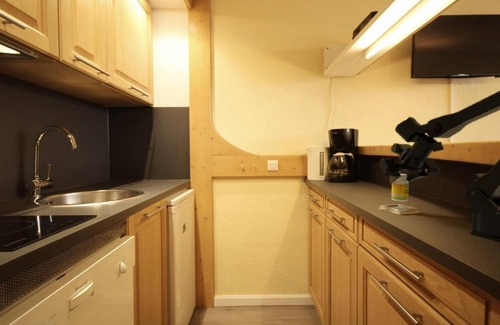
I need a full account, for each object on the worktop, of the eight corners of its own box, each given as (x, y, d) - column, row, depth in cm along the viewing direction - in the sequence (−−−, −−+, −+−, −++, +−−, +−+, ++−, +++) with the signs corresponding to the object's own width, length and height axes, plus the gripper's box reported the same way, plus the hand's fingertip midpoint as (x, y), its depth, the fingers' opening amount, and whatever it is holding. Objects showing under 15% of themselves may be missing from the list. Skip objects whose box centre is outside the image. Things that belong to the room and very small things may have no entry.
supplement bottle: (394, 198, 100) (394, 173, 99) (410, 200, 96) (411, 174, 95) (389, 200, 96) (389, 174, 95) (405, 202, 92) (406, 175, 92)
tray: (419, 212, 93) (419, 208, 93) (400, 214, 90) (400, 210, 90) (397, 207, 102) (397, 203, 102) (379, 209, 99) (379, 205, 99)
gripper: (434, 135, 91) (412, 165, 103) (382, 135, 90) (365, 165, 102) (452, 158, 84) (426, 188, 95) (395, 158, 83) (376, 188, 94)
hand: (397, 181), depth 97 cm, fingers closed on supplement bottle, 5 cm apart
